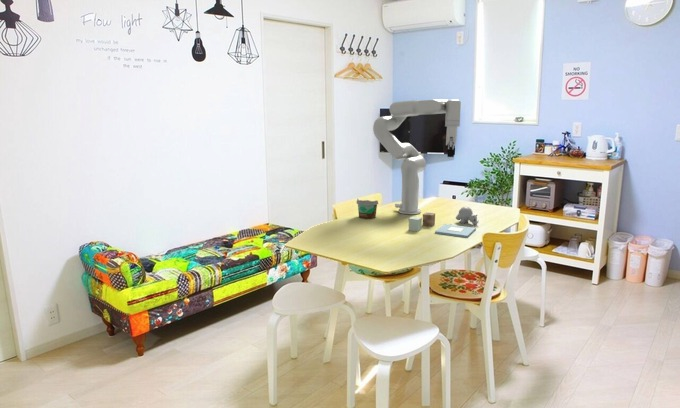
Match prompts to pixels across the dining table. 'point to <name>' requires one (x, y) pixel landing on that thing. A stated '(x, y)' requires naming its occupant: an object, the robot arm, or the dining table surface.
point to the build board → (455, 230)
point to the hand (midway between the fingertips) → (451, 155)
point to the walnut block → (428, 219)
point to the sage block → (415, 223)
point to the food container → (367, 209)
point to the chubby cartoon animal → (467, 216)
